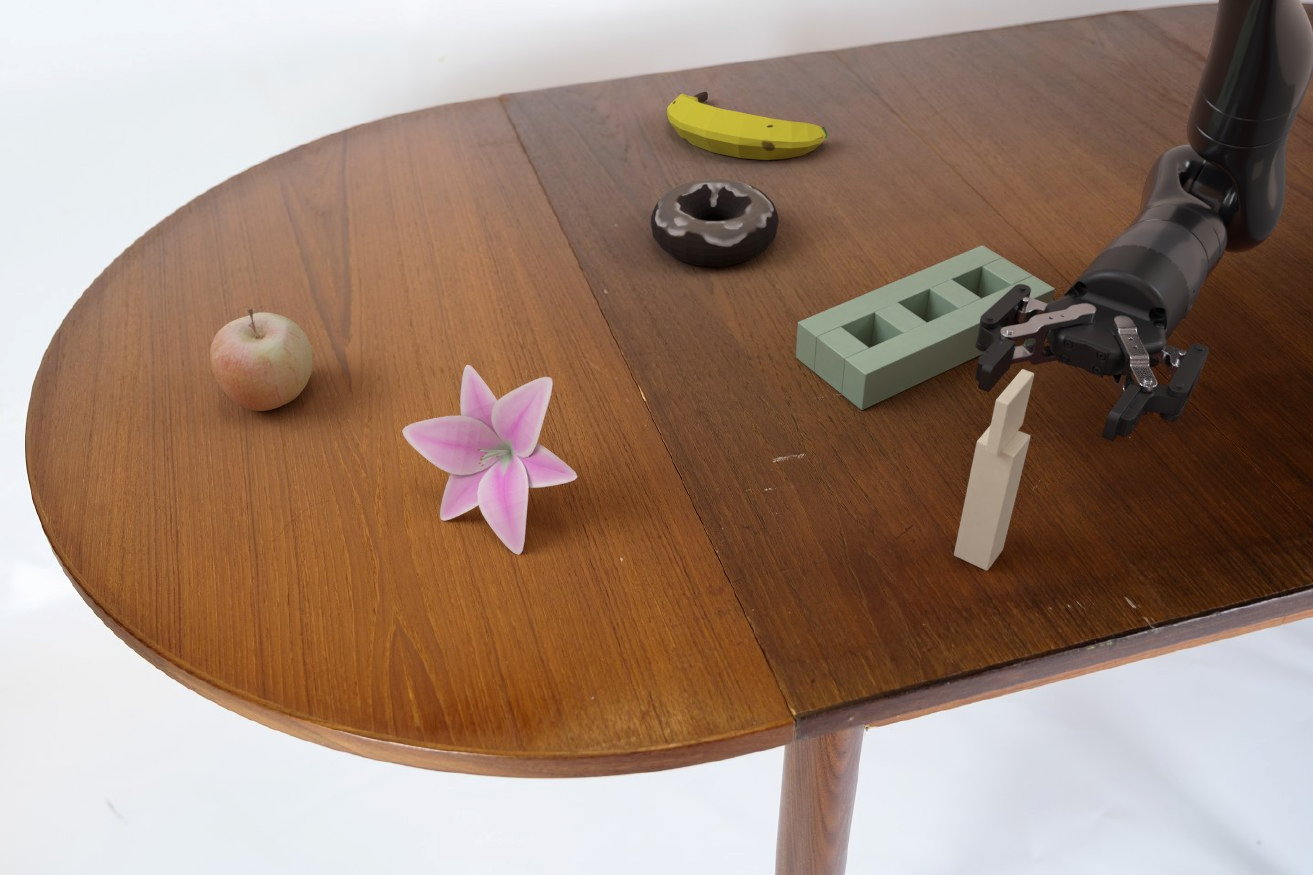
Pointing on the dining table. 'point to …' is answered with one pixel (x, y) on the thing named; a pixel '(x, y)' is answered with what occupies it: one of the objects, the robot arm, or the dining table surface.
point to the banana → (741, 131)
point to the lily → (492, 454)
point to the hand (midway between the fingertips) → (1045, 404)
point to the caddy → (909, 326)
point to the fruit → (261, 360)
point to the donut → (714, 222)
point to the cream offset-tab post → (995, 477)
